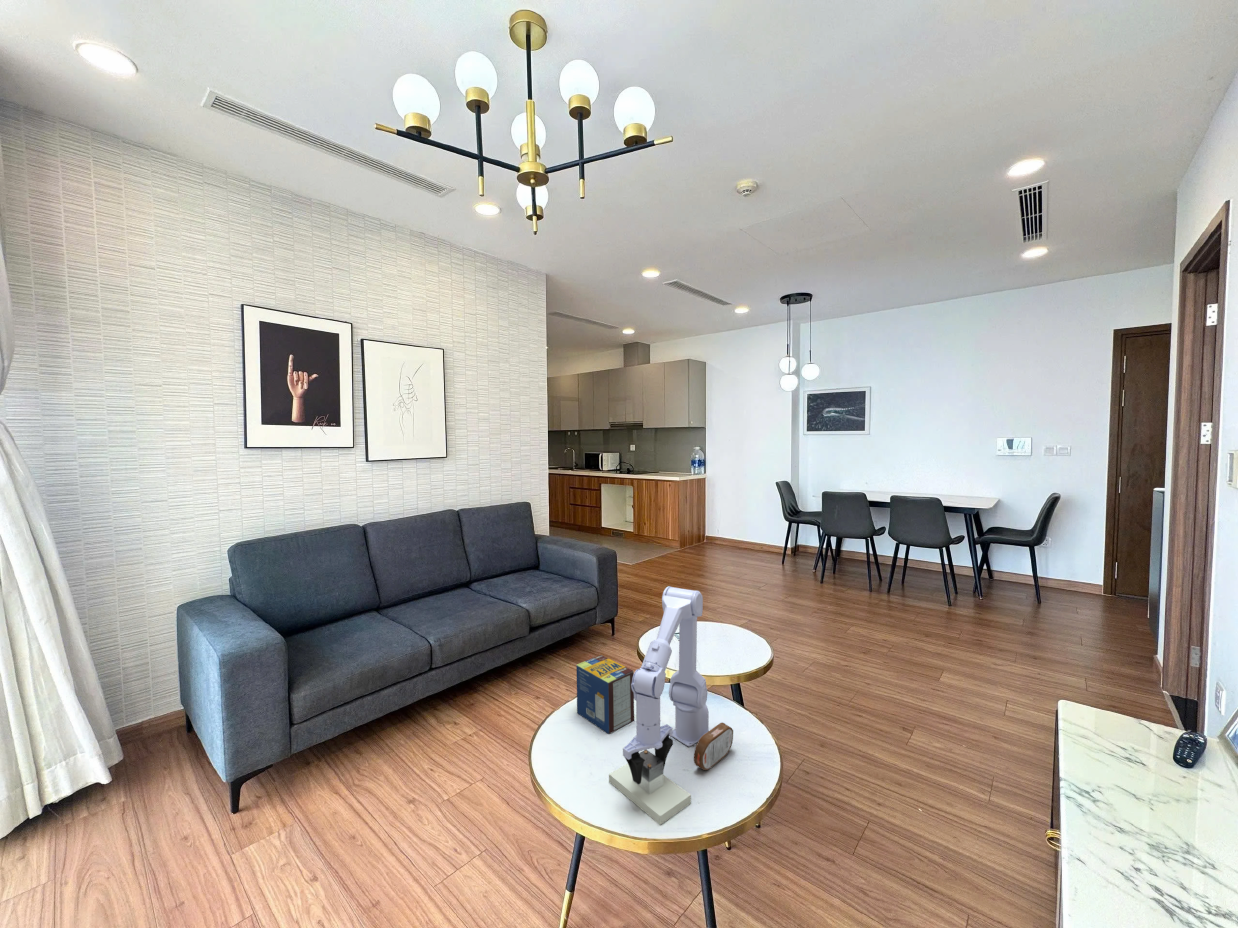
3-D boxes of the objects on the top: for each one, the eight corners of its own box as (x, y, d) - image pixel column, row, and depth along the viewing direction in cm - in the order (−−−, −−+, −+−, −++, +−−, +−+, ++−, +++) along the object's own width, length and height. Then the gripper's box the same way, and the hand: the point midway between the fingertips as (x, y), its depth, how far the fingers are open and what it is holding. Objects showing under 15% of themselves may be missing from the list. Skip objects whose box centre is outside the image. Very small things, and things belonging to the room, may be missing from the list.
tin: (725, 745, 137) (725, 716, 136) (735, 750, 135) (735, 720, 134) (692, 772, 126) (692, 740, 126) (702, 778, 124) (702, 745, 124)
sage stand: (638, 764, 129) (638, 756, 129) (690, 802, 116) (690, 794, 116) (609, 781, 123) (608, 773, 123) (660, 824, 109) (660, 816, 109)
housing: (646, 772, 123) (646, 747, 123) (663, 785, 119) (663, 759, 118) (632, 780, 120) (632, 755, 120) (649, 794, 116) (649, 768, 115)
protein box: (601, 700, 161) (601, 653, 160) (634, 720, 149) (634, 670, 148) (576, 713, 154) (575, 664, 153) (608, 734, 142) (608, 682, 141)
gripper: (637, 739, 111) (637, 797, 111) (681, 715, 120) (681, 769, 121) (616, 725, 116) (617, 781, 117) (660, 703, 125) (661, 755, 126)
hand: (648, 774), depth 119 cm, fingers open, 7 cm apart
